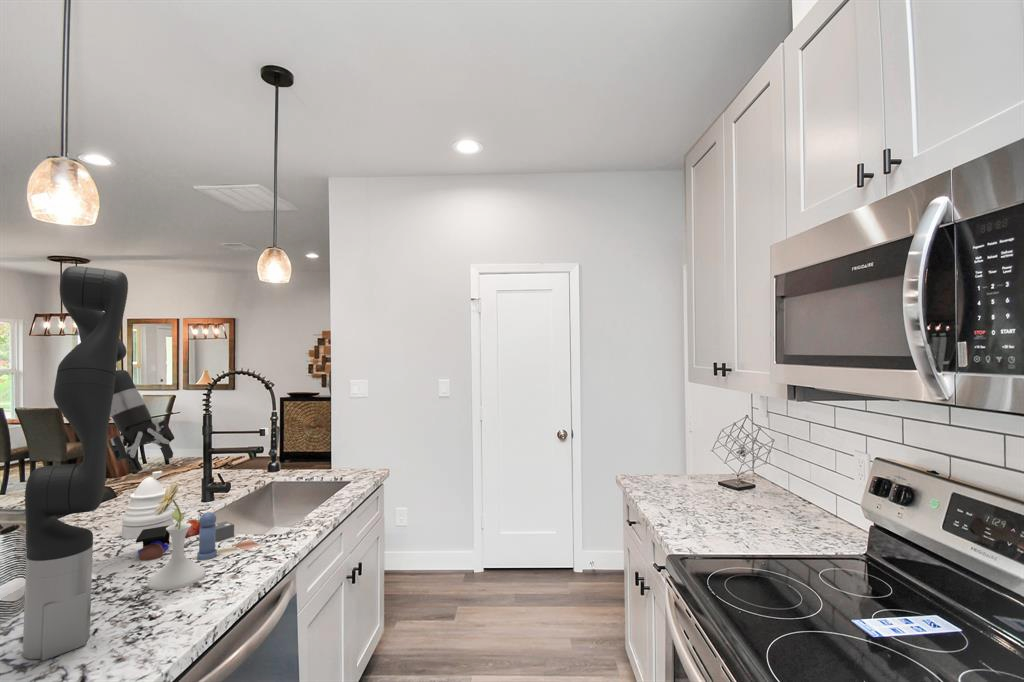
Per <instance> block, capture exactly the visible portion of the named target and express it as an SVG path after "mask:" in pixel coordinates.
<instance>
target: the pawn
mask: <svg viewBox="0 0 1024 682" xmlns="http://www.w3.org/2000/svg"><path fill="white" fill-rule="evenodd" d="M216 522H217V515H216V514H215V513H213V512H210V511H209V512H208V511H207V512H204V513H203V514H202V515H201V516H200V518H199V523H200V525H201V526H200V533H199V539H198V541H199V542H198V547H199V548H198V551H197V552H196V556H197V560H196V561H198V560H209V559H212V558H215V557H216V556H217V555H218V553H217V549H218V548H216V542H215V535H216V525H215V524H216Z"/></svg>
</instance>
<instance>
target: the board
mask: <svg viewBox="0 0 1024 682" xmlns="http://www.w3.org/2000/svg"><path fill="white" fill-rule="evenodd" d="M258 546H261V544H260V543H258V542H255V541H253V540H250V539H248V540H244V541H241V542H237V543H234V544H232V545H227V546H224V547H221V548H216V549H217V556H216V557H215V558H212V559H209V560H197V555H195V556H191V558H192V559H194V560H196V561H199V562H201V563H202V564H204V563H208V562H211V561H215V560H217V559H220V558H223V557H227V556H230V555H233V554H236V553H240V552H242V551H246V550H249V549H253V548H256V547H258Z"/></svg>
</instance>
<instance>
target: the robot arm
mask: <svg viewBox="0 0 1024 682" xmlns="http://www.w3.org/2000/svg"><path fill="white" fill-rule="evenodd" d="M128 292H129V281H128V277H127V275H126V274H125V272H122V271H120V270H114V269H107V268H97V267H91V266H90V267H89V266H88V267H87V266H81V265H78V266H77V265H76V266H75V265H73V266H67V267H66V268H65V269H64V270H63V272H62V273H61V276H60V282H59V297H60V300H61V303H62V305H63V306H64V308H65V310H66V312H67V313H68V314H69V316H70V318H71V319H72V320H73V322H74V323H75V325H76V327H77V330H78V335H79V340H80V342H79V343H78V344H76V345H75V347H74V348H73V349H71V350H70V352H68V353H67V354H66V355H65V356H64V357H63V358H62V360H61V361H60V362H59V364H58V367H57V370H56V371H57V372H56V377H55V382H54V387H53V388H54V389H53V400H54V402H55V405H56V406H57V408H58V410H59V411H60V413H61V414H62V416H63V417H64V418H65V419H66V420H67V422H68V423H69V425H70V426H71V427H72V429H73V430H74V432H75V434H76V436H77V437H78V440H79V441H80V444H81V447H82V456H83V457H82V463H68V464H55V465H45V466H44V465H43V466H39V467H37V468H35V469H33V470H32V472H31V473H30V475H28V478H27V481H26V485H25V491H24V511H25V546H26V557H25V558H26V562H25V581H24V582H25V583H24V607H23V609H24V610H23V611H24V612H23V630H22V631H23V637H22V638H23V639H22V640H23V641H22V642H23V643H22V657H24V658H25V659H29V660H41V661H47V660H48V659H52V658H54V657H57V656H60V655H62V654H64V653H65V654H66V653H67V652H70V651H72V650H75V649H78V648H81V647H83V646H86V645H87V644H88V643H87V641H88V640H89V639H90V637H91V635H90V634H91V617H92V615H91V612H92V611H91V608H92V578H93V554H94V553H93V552H94V551H93V549H94V534H93V531H92V530H91V529H88V528H86V527H81V526H75V525H71V524H68V523H66V522H63V521H61V520H60V519H59V518H58V517H57V516H65V515H74V514H82V513H90V512H91V513H92V512H93V511H96V510H97V509H99V508H100V506H101V503H102V501H103V498H104V495H105V489H106V480H107V479H106V477H107V455H108V454H107V453H108V443H109V446H110V448H111V451H112V453H113V455H114V458H115V461H117V462H120V461H125V462H127V464H128V467H129V469H130V470H131V471H132V472H133V473H134V474H136V473H140V472H141V471H143V467H142V465H141V463H140V461H139V458H138V457H137V456H136V455H137V451H138V449H139V447H141V446H144V445H147V444H149V443H151V444H155V445H157V446H159V447H160V448H159V449H160V451H161V453H162V456H163V457H164V459H165V460H166V461H167V460H170V459H172V458H174V451H173V450H172V447H171V445H170V443H171V442H172V441H174V439H175V435H174V434H173V432H172V430H171V428H170V427H169V425H168V423H167V421H166V420H161V421H158V422H156V423H154V422H153V421H152V416H151V414H150V411H149V410H148V407H147V405H146V404H145V401H144V399H143V397H142V395H141V393H140V392H139V391H138V388H137V387H136V386H135V383H134V381H133V379H132V377H131V374H130V373H129V371H127V370H125V369H118V370H117V364H118V362H120V361H122V360H123V359H124V358H125V357H126V355H127V347H126V345H125V343H124V342H123V341H122V340H121V338H120V334H121V329H122V325H123V319H124V314H125V310H126V305H127V299H128V294H129V293H128ZM110 417H111V419H112V421H113V423H114V425H115V427H116V429H117V431H118V432H119V433H120V436H119V435H116V436H113V437H112V438H110V439H109V440H108V435H109V427H110V426H109V425H110ZM157 431H158V432H159V433H158V432H157ZM124 442H125V443H126V446H124Z"/></svg>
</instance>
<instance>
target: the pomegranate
mask: <svg viewBox="0 0 1024 682" xmlns="http://www.w3.org/2000/svg"><path fill="white" fill-rule="evenodd" d="M185 523H190V524H191V527H190V528H189V529H188V531H187V533H186V536H185V539H188V538H191V537H196V536H198V535H199V534H200V526H201V525H200V523H199V521H198V519H190V520H187V522H185Z"/></svg>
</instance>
